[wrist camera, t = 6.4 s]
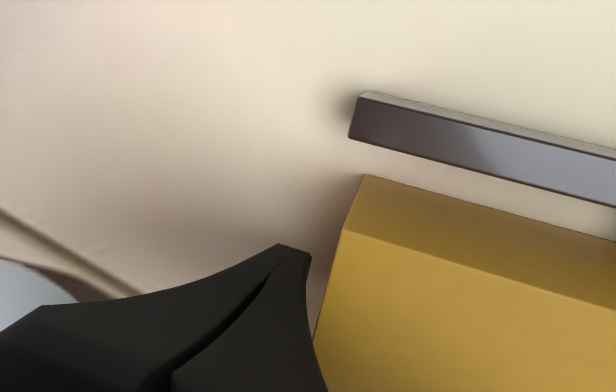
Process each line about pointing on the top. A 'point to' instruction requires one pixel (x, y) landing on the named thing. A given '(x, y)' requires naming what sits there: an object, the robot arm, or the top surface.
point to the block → (464, 300)
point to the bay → (487, 147)
